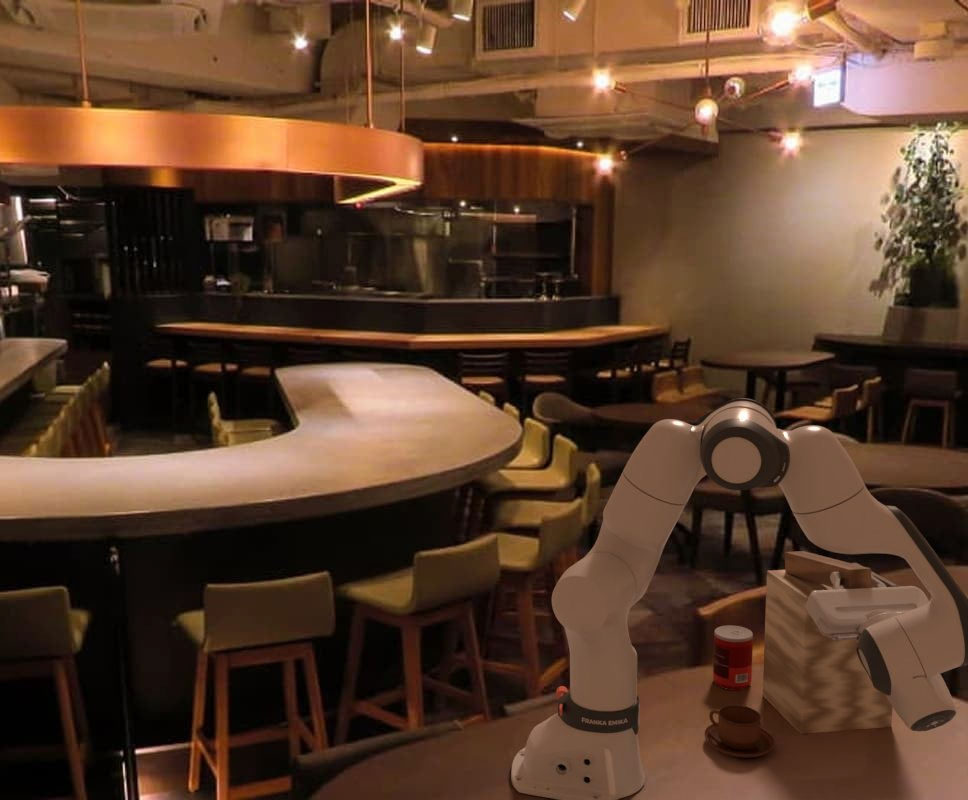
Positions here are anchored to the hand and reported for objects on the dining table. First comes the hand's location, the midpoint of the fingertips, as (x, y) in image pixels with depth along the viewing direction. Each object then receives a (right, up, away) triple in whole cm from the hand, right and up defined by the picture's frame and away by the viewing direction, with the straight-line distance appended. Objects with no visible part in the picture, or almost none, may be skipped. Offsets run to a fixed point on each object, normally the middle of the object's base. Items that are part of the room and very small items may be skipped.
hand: (849, 573), depth 161 cm
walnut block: (-1, -3, +8) cm, 9 cm away
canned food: (-12, -29, +30) cm, 44 cm away
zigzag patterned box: (+2, -30, +18) cm, 35 cm away
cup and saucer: (-18, -32, +4) cm, 37 cm away
